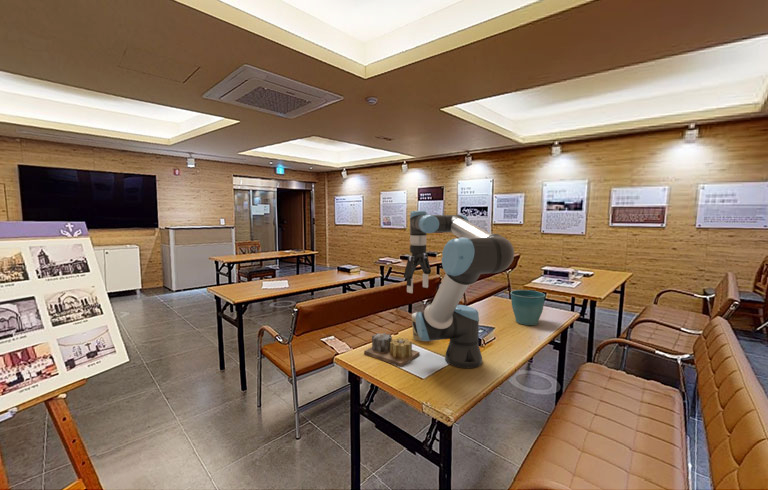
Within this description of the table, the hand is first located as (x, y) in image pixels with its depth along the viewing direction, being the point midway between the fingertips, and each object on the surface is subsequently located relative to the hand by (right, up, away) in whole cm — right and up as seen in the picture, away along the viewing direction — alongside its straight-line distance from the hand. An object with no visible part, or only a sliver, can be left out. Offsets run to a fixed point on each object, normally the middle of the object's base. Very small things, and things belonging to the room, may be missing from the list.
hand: (417, 290), depth 153 cm
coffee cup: (+3, -26, +12) cm, 29 cm away
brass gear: (-9, -26, -11) cm, 30 cm away
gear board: (-12, -28, -8) cm, 31 cm away
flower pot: (+66, -24, +36) cm, 79 cm away
